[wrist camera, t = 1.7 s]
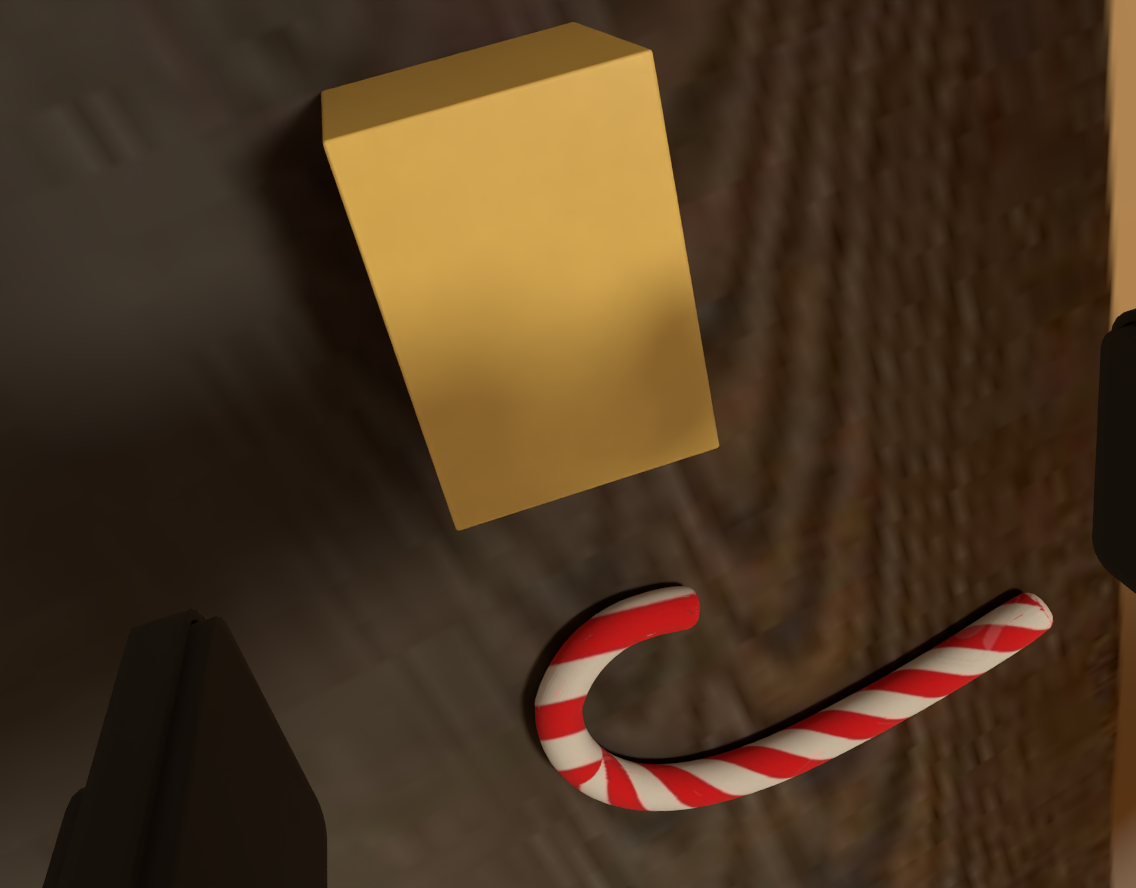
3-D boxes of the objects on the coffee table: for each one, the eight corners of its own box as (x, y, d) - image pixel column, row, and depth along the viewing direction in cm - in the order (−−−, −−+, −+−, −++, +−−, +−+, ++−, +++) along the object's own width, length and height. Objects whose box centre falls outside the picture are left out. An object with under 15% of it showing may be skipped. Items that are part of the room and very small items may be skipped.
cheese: (319, 91, 18) (322, 141, 14) (574, 20, 19) (653, 49, 14) (428, 412, 22) (457, 532, 17) (641, 347, 22) (720, 447, 18)
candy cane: (1054, 707, 29) (571, 861, 28) (1026, 678, 30) (561, 824, 29) (1075, 490, 25) (516, 653, 24) (1042, 466, 27) (507, 621, 25)
